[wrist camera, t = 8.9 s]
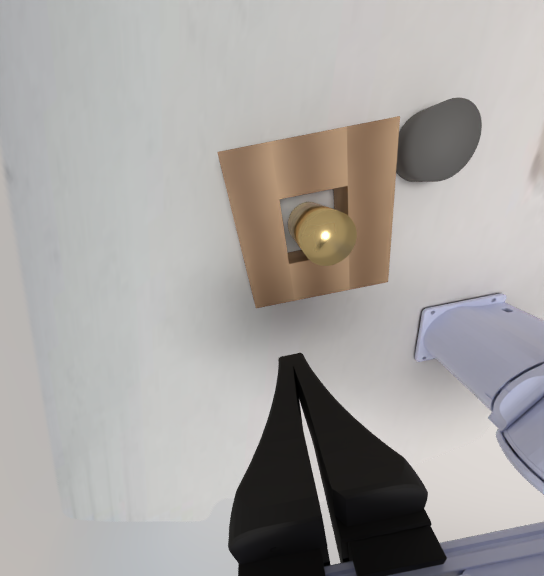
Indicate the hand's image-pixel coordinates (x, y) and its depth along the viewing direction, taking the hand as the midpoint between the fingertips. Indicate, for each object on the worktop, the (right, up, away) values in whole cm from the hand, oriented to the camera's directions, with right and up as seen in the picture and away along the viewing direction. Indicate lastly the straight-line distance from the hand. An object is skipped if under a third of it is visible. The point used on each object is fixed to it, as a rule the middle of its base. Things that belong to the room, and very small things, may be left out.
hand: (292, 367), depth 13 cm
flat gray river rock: (+11, +16, +5) cm, 20 cm away
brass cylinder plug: (+2, +10, +7) cm, 13 cm away
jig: (+2, +11, +7) cm, 13 cm away
